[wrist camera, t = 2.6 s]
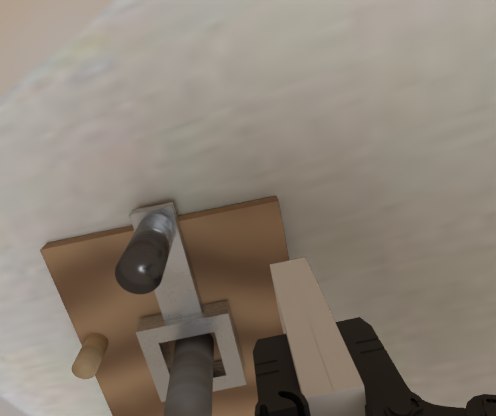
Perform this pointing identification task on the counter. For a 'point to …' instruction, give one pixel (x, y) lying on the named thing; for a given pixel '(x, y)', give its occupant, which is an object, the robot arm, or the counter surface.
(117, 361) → the board
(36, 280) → the counter surface
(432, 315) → the counter surface
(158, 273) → the square frame with handle
